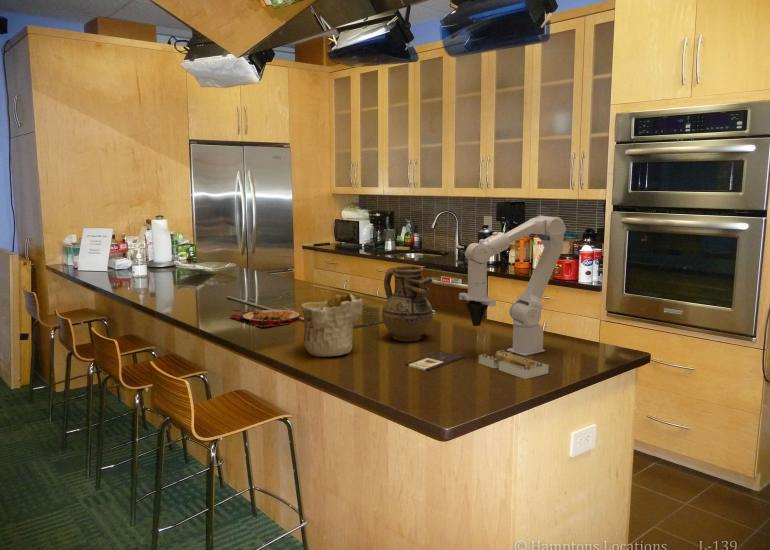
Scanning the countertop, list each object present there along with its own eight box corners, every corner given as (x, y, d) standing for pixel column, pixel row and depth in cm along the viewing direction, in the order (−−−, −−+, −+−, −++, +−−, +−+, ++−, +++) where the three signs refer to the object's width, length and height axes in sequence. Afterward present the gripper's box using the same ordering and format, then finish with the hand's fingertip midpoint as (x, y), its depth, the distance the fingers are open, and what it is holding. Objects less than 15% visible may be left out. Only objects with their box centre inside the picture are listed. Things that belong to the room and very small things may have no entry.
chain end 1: (500, 358, 193) (500, 348, 193) (515, 363, 188) (516, 353, 188) (478, 363, 188) (478, 353, 188) (493, 368, 183) (494, 358, 182)
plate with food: (263, 331, 234) (263, 322, 234) (229, 318, 254) (228, 310, 253) (316, 322, 251) (316, 313, 250) (280, 310, 270) (280, 302, 269)
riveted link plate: (504, 363, 189) (504, 351, 188) (534, 373, 179) (535, 360, 179) (495, 365, 187) (495, 353, 186) (525, 375, 177) (525, 362, 176)
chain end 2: (520, 364, 186) (521, 355, 186) (548, 373, 178) (548, 363, 177) (498, 370, 181) (498, 360, 181) (525, 379, 173) (526, 368, 172)
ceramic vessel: (266, 331, 199) (302, 271, 206) (312, 362, 212) (344, 305, 219) (302, 342, 184) (339, 277, 191) (350, 375, 197) (383, 313, 204)
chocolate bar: (464, 356, 194) (429, 369, 181) (464, 359, 194) (429, 372, 181) (441, 351, 200) (405, 363, 187) (441, 354, 200) (405, 366, 187)
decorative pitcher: (367, 337, 221) (366, 267, 217) (403, 329, 233) (403, 262, 229) (411, 348, 205) (411, 273, 201) (447, 339, 217) (447, 268, 213)
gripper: (451, 280, 196) (451, 322, 198) (484, 286, 184) (483, 331, 186) (468, 278, 200) (468, 320, 202) (501, 284, 188) (500, 328, 190)
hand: (476, 325), depth 194 cm, fingers closed
